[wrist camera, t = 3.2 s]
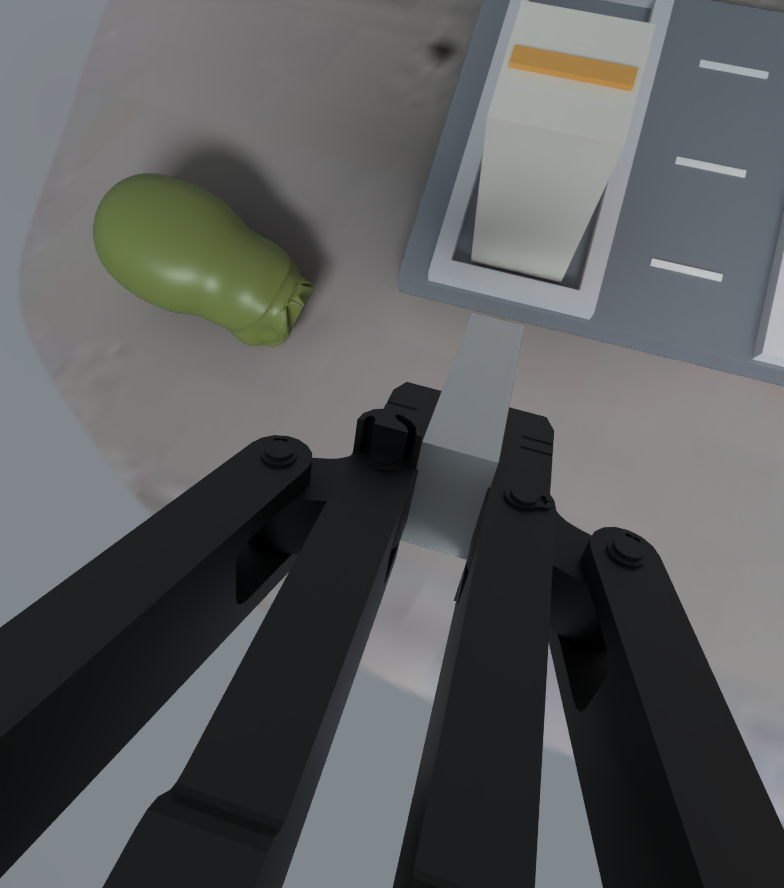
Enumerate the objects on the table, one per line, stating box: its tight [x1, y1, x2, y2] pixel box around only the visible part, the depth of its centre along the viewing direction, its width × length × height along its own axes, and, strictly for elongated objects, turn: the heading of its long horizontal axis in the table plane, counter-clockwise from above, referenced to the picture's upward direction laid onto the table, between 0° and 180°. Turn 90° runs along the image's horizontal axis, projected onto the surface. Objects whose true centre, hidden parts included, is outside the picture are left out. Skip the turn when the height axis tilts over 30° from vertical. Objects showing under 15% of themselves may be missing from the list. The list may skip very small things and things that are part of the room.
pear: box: [93, 174, 315, 347], centre depth 27 cm, size 6×5×10 cm
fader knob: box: [471, 0, 656, 282], centre depth 22 cm, size 4×4×9 cm
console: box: [397, 0, 784, 386], centre depth 27 cm, size 24×17×2 cm
